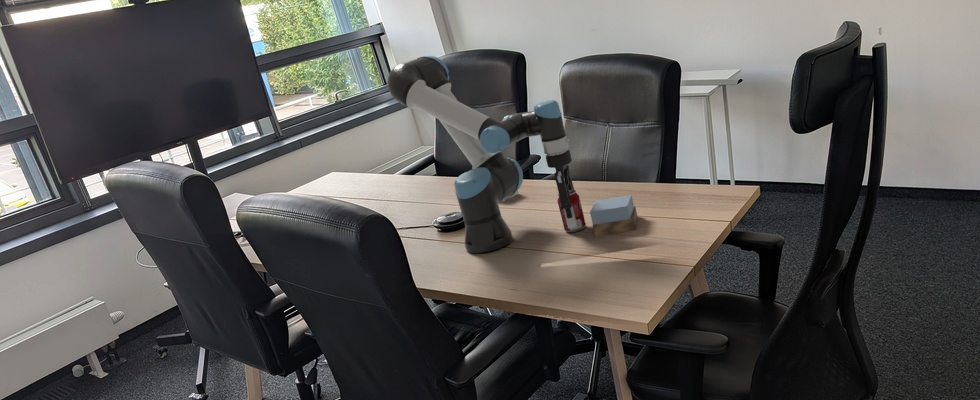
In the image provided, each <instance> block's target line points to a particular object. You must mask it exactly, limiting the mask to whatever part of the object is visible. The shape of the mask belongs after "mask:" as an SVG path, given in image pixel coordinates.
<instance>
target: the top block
mask: <svg viewBox="0 0 980 400" xmlns="http://www.w3.org/2000/svg"><path fill="white" fill-rule="evenodd" d="M634 206H635V205H634V199H633V196H632V194H628V195H624V196H622V195H621V196H615V197H611V198H610V197H609V198H604V199H599V200H598V199H597V200H595V202H594V203H593V205H592V207H591V209H590V211H589V214H590V218H591V223H592V226H593V225H595V224H602V223H608V222H615V221H621V220H628V219H630V218H631V215H632V212H633V209H634Z"/></svg>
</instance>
